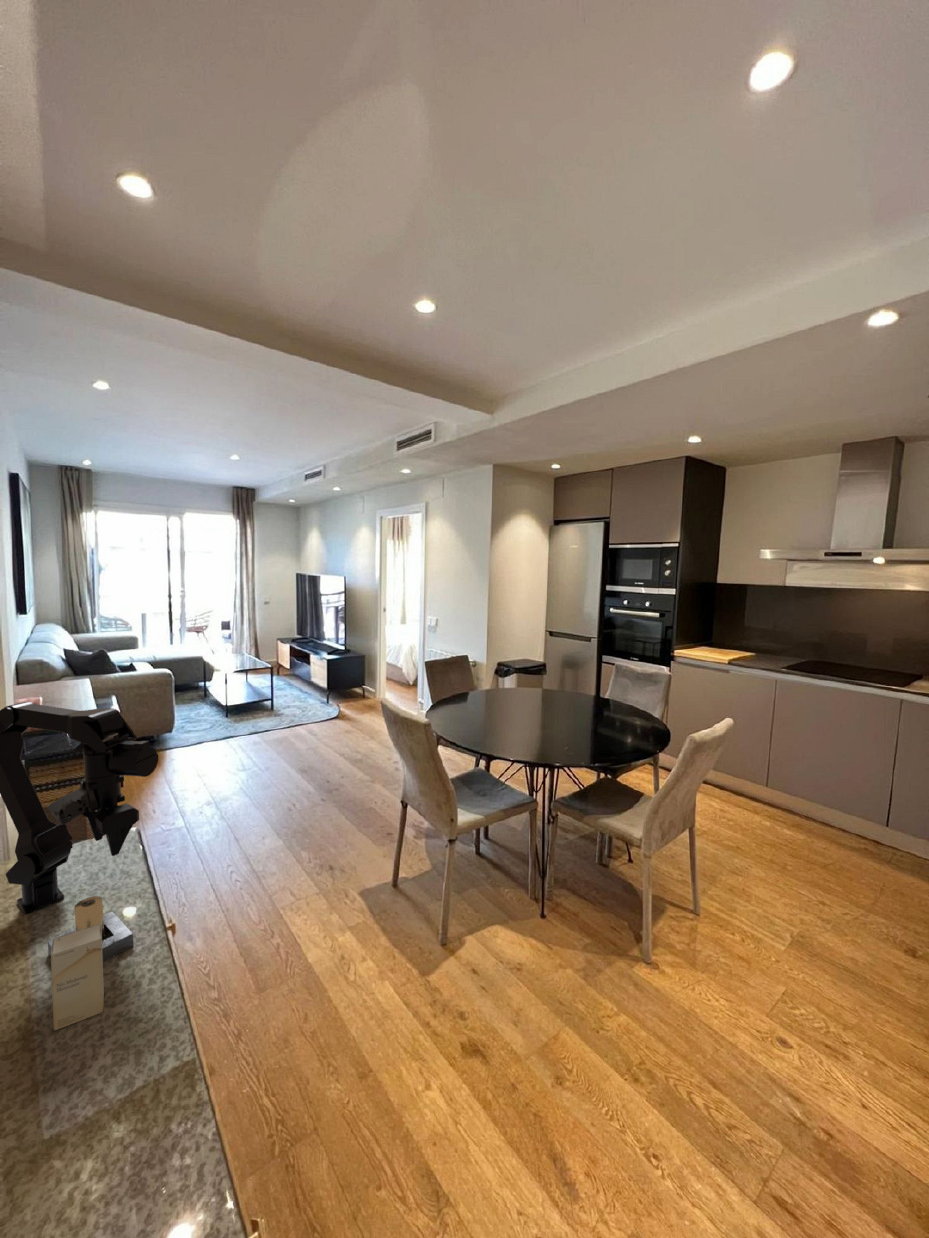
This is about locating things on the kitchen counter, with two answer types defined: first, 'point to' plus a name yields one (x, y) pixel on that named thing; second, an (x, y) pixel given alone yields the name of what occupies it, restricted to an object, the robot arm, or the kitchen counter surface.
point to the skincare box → (77, 976)
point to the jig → (110, 937)
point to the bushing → (89, 913)
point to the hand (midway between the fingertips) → (106, 847)
